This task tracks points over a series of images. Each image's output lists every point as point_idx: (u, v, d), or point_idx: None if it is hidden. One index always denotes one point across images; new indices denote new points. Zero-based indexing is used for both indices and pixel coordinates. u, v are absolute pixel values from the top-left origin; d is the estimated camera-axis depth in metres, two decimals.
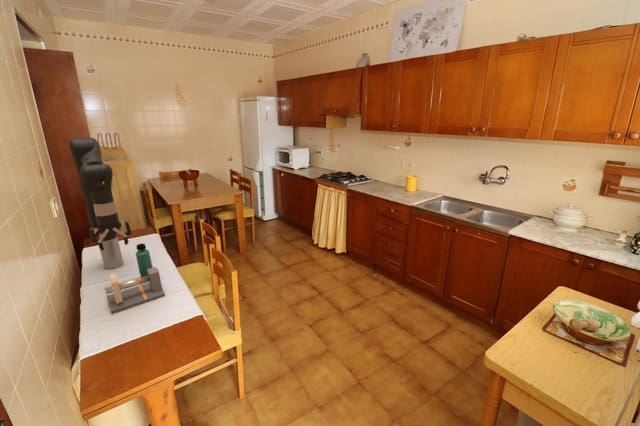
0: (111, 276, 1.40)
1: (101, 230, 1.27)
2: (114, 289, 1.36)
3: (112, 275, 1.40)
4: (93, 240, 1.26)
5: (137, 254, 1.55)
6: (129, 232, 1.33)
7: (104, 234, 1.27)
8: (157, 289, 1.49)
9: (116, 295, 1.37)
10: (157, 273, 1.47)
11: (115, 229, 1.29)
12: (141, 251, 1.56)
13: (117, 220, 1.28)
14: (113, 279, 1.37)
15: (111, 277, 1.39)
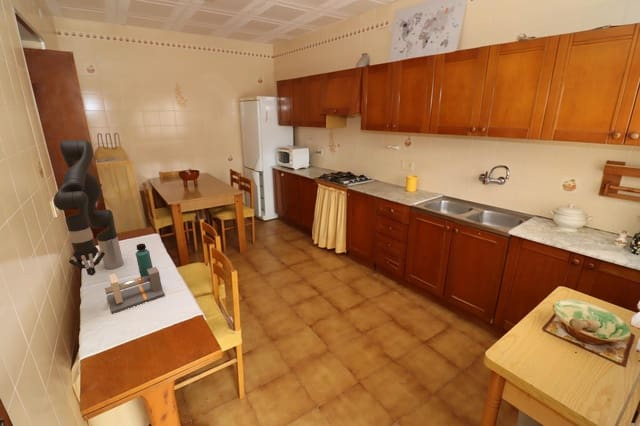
0: (111, 276, 1.40)
1: (79, 259, 1.27)
2: (114, 289, 1.36)
3: (112, 275, 1.40)
4: (80, 267, 1.28)
5: (137, 254, 1.55)
6: (96, 262, 1.31)
7: (80, 260, 1.27)
8: (157, 289, 1.49)
9: (116, 295, 1.37)
10: (157, 273, 1.47)
11: (90, 255, 1.29)
12: (141, 251, 1.56)
13: (93, 246, 1.28)
14: (113, 279, 1.37)
15: (111, 277, 1.39)
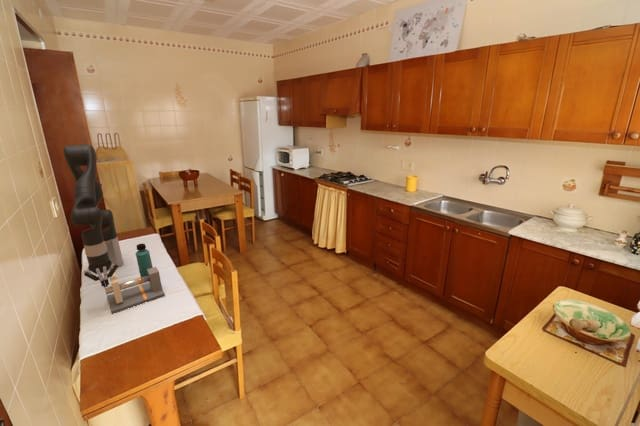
0: None
1: (93, 271, 1.32)
2: (114, 289, 1.36)
3: (112, 275, 1.40)
4: (95, 279, 1.33)
5: (137, 254, 1.55)
6: (109, 274, 1.36)
7: None
8: (157, 289, 1.49)
9: (116, 295, 1.37)
10: (157, 273, 1.47)
11: (104, 268, 1.33)
12: (141, 251, 1.56)
13: (107, 259, 1.33)
14: (113, 279, 1.38)
15: (111, 277, 1.39)
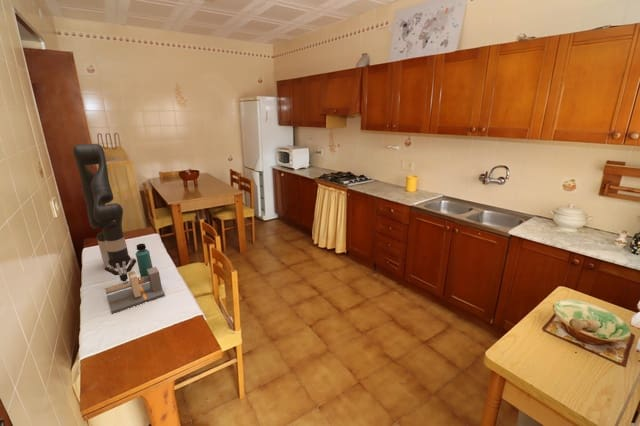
0: None
1: (113, 266, 1.36)
2: (133, 283, 1.40)
3: None
4: (114, 273, 1.37)
5: (137, 254, 1.55)
6: (128, 269, 1.40)
7: (114, 267, 1.36)
8: (157, 289, 1.49)
9: (135, 289, 1.41)
10: (157, 273, 1.47)
11: (124, 263, 1.38)
12: (141, 251, 1.56)
13: (126, 254, 1.37)
14: (132, 273, 1.42)
15: (130, 272, 1.43)
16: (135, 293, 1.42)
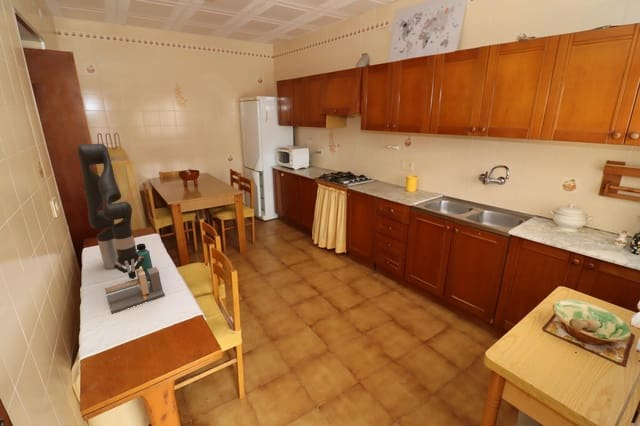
0: (138, 269, 1.46)
1: (122, 264, 1.38)
2: (141, 281, 1.42)
3: None
4: (123, 271, 1.39)
5: None
6: (137, 267, 1.42)
7: (123, 265, 1.38)
8: (157, 289, 1.49)
9: (143, 287, 1.43)
10: (157, 273, 1.47)
11: (132, 261, 1.40)
12: (141, 251, 1.56)
13: (135, 252, 1.39)
14: (140, 271, 1.44)
15: (138, 269, 1.45)
16: (143, 290, 1.44)
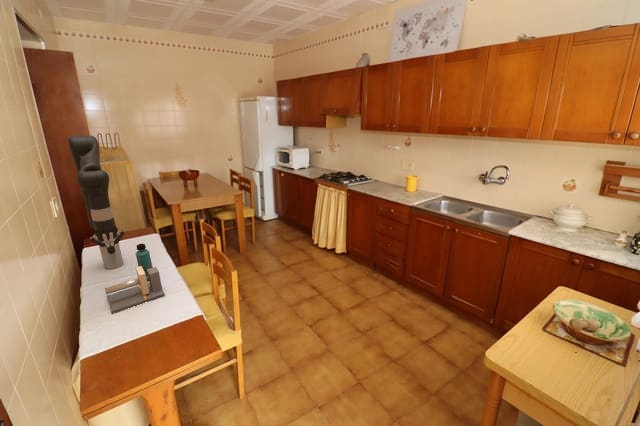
0: (138, 268, 1.46)
1: (100, 237, 1.30)
2: (141, 281, 1.42)
3: (139, 268, 1.47)
4: (101, 245, 1.31)
5: (137, 254, 1.55)
6: (116, 241, 1.34)
7: (101, 238, 1.30)
8: (157, 289, 1.49)
9: (143, 286, 1.43)
10: (157, 273, 1.47)
11: (111, 234, 1.32)
12: (141, 251, 1.56)
13: (114, 225, 1.31)
14: (140, 271, 1.44)
15: (138, 269, 1.45)
16: (143, 290, 1.44)
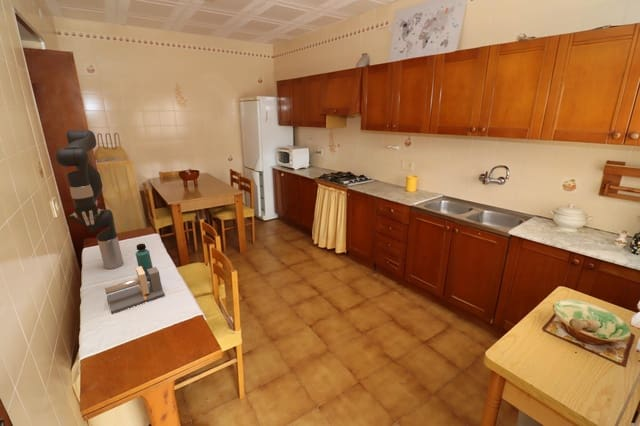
0: (138, 268, 1.46)
1: (79, 215, 1.33)
2: (141, 281, 1.42)
3: (139, 268, 1.47)
4: (81, 223, 1.34)
5: (137, 254, 1.55)
6: (96, 219, 1.37)
7: (81, 216, 1.33)
8: (157, 289, 1.49)
9: (143, 286, 1.43)
10: (157, 273, 1.47)
11: (91, 212, 1.34)
12: (141, 251, 1.56)
13: (93, 203, 1.34)
14: (140, 271, 1.44)
15: (138, 269, 1.45)
16: (143, 290, 1.44)
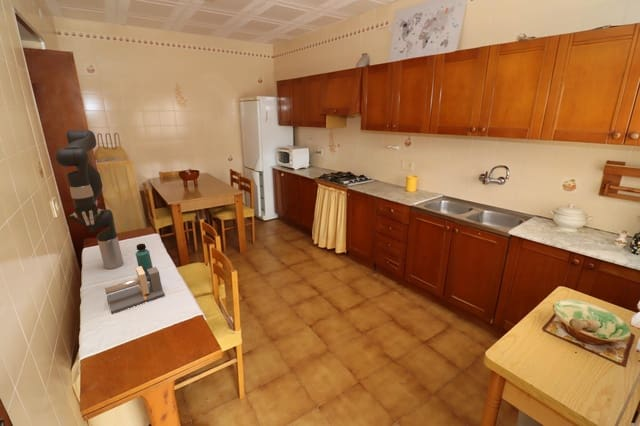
0: (138, 268, 1.46)
1: (79, 215, 1.33)
2: (141, 281, 1.42)
3: (139, 268, 1.47)
4: (81, 223, 1.34)
5: (137, 254, 1.55)
6: (96, 219, 1.37)
7: (81, 216, 1.33)
8: (157, 289, 1.49)
9: (143, 286, 1.43)
10: (157, 273, 1.47)
11: (91, 212, 1.34)
12: (141, 251, 1.56)
13: (93, 203, 1.34)
14: (140, 271, 1.44)
15: (138, 269, 1.45)
16: (143, 290, 1.44)
